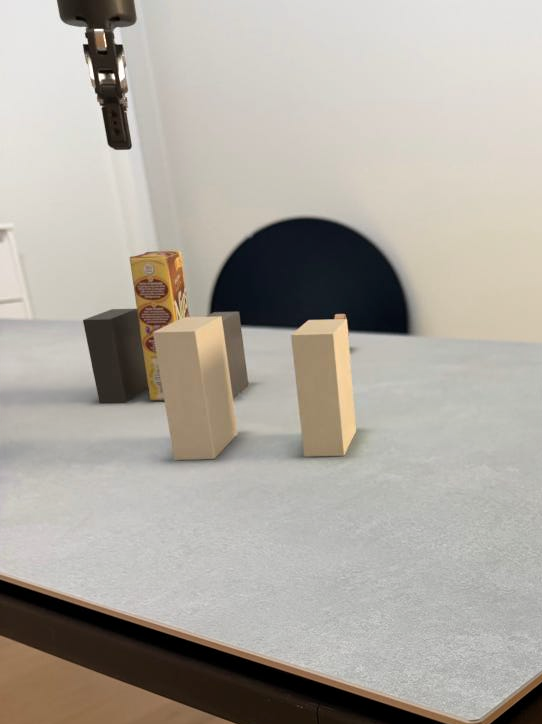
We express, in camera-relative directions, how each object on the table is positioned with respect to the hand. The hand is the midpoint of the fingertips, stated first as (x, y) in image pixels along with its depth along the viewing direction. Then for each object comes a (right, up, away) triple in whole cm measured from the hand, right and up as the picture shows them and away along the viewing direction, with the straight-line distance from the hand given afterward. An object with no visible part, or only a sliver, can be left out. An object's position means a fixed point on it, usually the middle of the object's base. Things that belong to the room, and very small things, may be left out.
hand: (121, 148), depth 103 cm
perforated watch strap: (+20, -12, +32) cm, 40 cm away
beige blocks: (+19, -35, -15) cm, 43 cm away
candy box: (+3, -25, +8) cm, 26 cm away
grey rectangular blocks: (+3, -24, +8) cm, 26 cm away
